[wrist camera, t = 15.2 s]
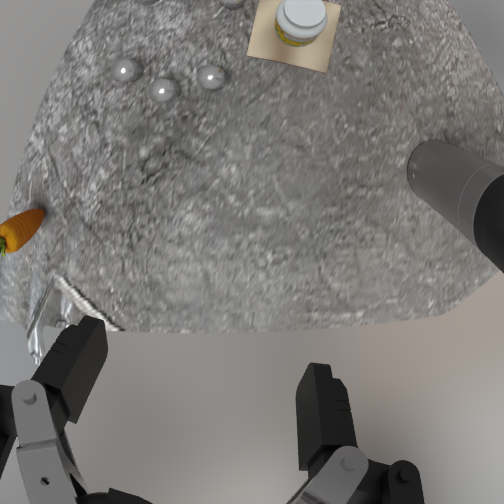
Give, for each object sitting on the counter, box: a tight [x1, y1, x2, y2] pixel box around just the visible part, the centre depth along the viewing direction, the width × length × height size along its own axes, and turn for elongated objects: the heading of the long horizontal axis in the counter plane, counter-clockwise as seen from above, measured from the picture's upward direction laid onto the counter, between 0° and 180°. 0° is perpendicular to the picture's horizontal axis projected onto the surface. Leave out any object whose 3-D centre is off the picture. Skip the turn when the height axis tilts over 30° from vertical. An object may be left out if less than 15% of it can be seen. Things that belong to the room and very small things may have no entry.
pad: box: [247, 0, 341, 73], centre depth 31 cm, size 10×10×1 cm
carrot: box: [0, 209, 45, 257], centre depth 38 cm, size 5×5×15 cm
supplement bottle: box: [275, 0, 327, 47], centre depth 27 cm, size 5×5×10 cm
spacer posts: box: [110, 0, 245, 102], centre depth 31 cm, size 14×19×4 cm
